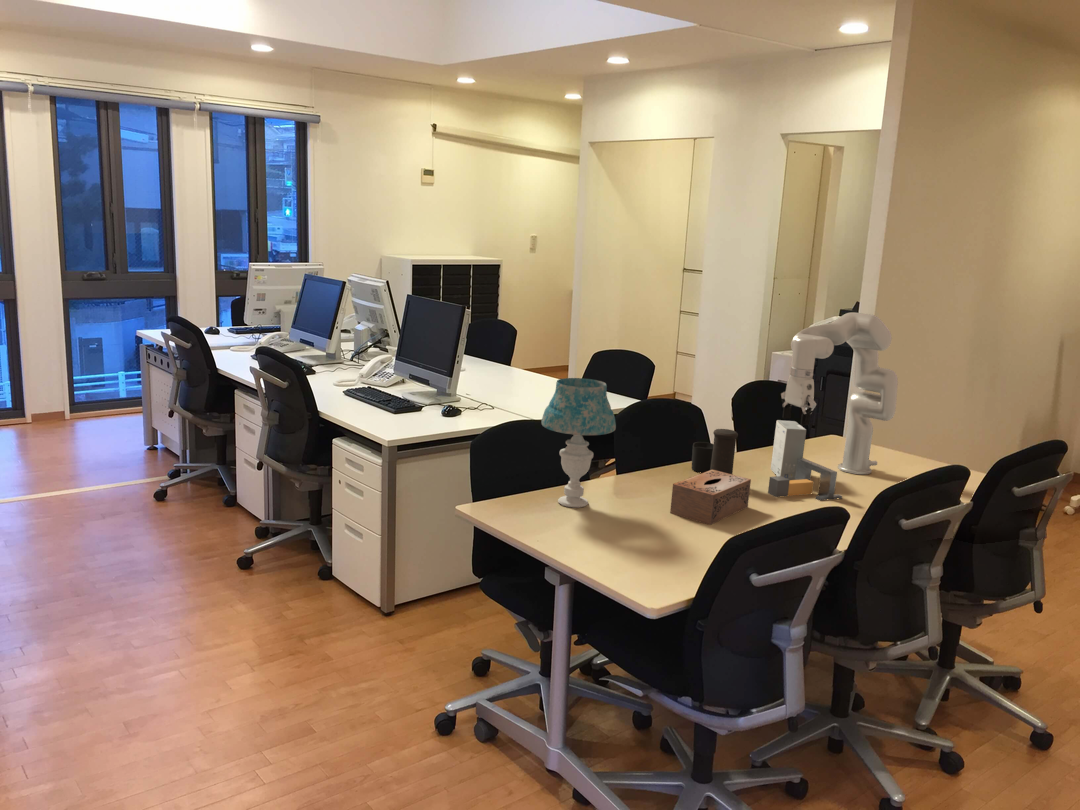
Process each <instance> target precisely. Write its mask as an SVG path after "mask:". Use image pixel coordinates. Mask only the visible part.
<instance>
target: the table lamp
mask: <svg viewBox="0 0 1080 810" xmlns="http://www.w3.org/2000/svg"><path fill="white" fill-rule="evenodd" d="M607 387H608V386H607V383H606V382H604V381H602V380H597V379H591V378H580V377H567V378H566V377H565V378H559V379H557V380H556V382H555V390H554V394H553V396H552V397H551V399H550V400H549V403H548V405H547V406H546V407H545V409H544V411H543V414H542V417H541V425H542V427H544V428H545V429H547V430H549V431H552V432H555V433H556V432H557V433H561V434H566V435H573V436H572V437H571V438H570V439H567V440H565V445H567V446H565V448H561V449H560V450H559V456H560V464H561V468H562V470H563V472H564V473H565V474H566V475H568V478H569V480H568V483H567V484H566V485H564V488H563V489H564V490H563V493H564V495H563V496H560V497H559V498H558V500H557V502H558V503H559V504H560V505H561V506H564V507H567V508H574V509H575V508H583V507H586V506H587V505H589V501H588V499H587V498H585V497H583V496H584V489H585V488H584V486H583V485H581V484H582V483H581V482H580V479H581V478H582V477H583V476H585V475H586V474H587V472H589V470H590V467H591V462H592V459H594V452H593V451H592V450H590V449H589V448H588V447H589V445H590V442H589V441H587V440H585V439H584V436H601V435H607V434H608V435H609V434H611V433H613V432H615V431H616V430H617V422H616V417H615V413H614V411H613V409H612V407H611V404H610V402H609V399H608V393H607V390H608V389H607Z"/></svg>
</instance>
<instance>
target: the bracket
mask: <svg viewBox="0 0 1080 810" xmlns="http://www.w3.org/2000/svg"><path fill="white" fill-rule="evenodd" d="M812 471H813V472H816V473H817V474H818V473H819V474H820V475H819V484H818V490H817V495H816V496H815V498H814V499H815V500H817V501H819V500H820V501H828V500H827V499H832V500H841V499H843V495H841V494H839V493H837V494H835V490H836V483H837V475H838V471H836V470H834V469H831V468H829V467H826V466H823V465H821V464H819V463H816V462H814V461H811V460H809V459H806V458H804V457H803V458H798V460H797V468H796V476H795V480H801V479H808V480H810V481H811V477H812ZM818 495H819V496H818ZM837 498H839V499H837Z"/></svg>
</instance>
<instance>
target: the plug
mask: <svg viewBox="0 0 1080 810" xmlns="http://www.w3.org/2000/svg"><path fill="white" fill-rule="evenodd" d="M813 488H814V481H813V480H811V479H810V480H808V479H801V480H789V479H787V478H785V477H782V476H776V475H775V476H769V481H768V487H767V490H768V491H767V494H769V495H771V496H773V497H775V498H781V497H780V496H784V497H789V496H788V495H790V496H800V495H799V494H804V495H812V494H813V490H814V489H813ZM811 493H812V494H811Z"/></svg>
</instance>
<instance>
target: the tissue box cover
mask: <svg viewBox="0 0 1080 810" xmlns="http://www.w3.org/2000/svg"><path fill="white" fill-rule="evenodd" d="M751 482H752V479H751V478H746V477H743V476H739V475H736V474H735V475H734V474H733V473H732V474H728V473H724V472H720V471H716V470H709V471H707V472H704V473H699V474H696V475H693V476H691V477H688V478H686V479H685V478H684V479H683V480H680V481H678V482H675V483H672V489H671V491H672V492H671V500H670V501H671V502H670V512H669V513H670V514H672V515H675V516H679V517H683V518H686V519H689V520H693V521H696V522H700V523H702V524H706V525H709V526H710V525H712V524H715V523H718V522H719V521H722V520H724V519H726V518H728V517H730V516H733V515H734V514H737V513H738V512H741V511H743V510H745V509H747V508H749V507H748V506H749V501H750V500H749V499H750V491H751Z"/></svg>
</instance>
